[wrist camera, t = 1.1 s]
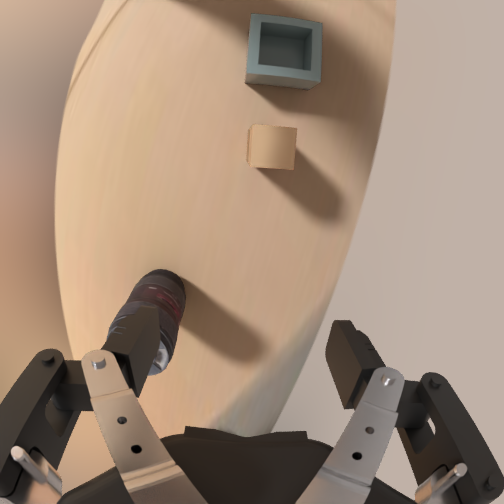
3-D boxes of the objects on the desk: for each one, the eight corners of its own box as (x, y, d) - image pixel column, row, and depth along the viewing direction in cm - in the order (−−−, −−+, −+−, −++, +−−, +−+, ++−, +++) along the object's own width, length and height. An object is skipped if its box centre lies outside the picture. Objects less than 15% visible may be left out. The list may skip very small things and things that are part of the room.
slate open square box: (244, 83, 31) (246, 73, 26) (249, 29, 27) (251, 13, 22) (308, 90, 31) (320, 82, 26) (311, 37, 28) (322, 23, 23)
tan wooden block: (246, 160, 35) (250, 166, 24) (248, 130, 33) (253, 124, 23) (276, 162, 35) (293, 170, 25) (279, 132, 33) (297, 128, 23)
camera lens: (192, 269, 40) (173, 334, 26) (186, 313, 43) (169, 383, 29) (140, 259, 39) (100, 316, 25) (138, 303, 42) (107, 367, 28)
